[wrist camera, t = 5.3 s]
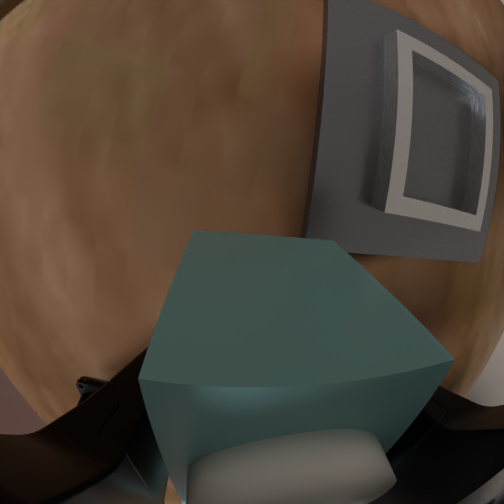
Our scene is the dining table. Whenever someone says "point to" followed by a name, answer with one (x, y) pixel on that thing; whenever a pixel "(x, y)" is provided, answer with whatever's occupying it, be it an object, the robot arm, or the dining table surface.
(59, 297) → the dining table surface
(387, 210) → the mounting plate
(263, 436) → the block
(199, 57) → the dining table surface
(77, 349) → the dining table surface
